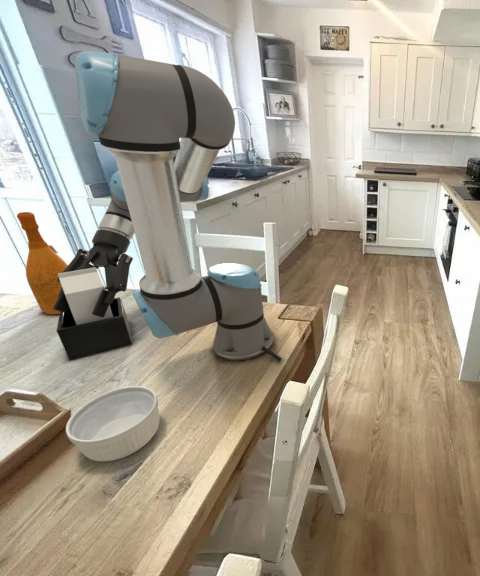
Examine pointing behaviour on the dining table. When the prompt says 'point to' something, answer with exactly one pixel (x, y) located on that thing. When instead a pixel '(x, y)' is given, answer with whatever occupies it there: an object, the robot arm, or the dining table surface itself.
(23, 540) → the dining table surface
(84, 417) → the ramekin
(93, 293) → the milk carton
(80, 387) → the dining table surface
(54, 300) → the wine bottle
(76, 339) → the open black box
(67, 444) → the dining table surface
